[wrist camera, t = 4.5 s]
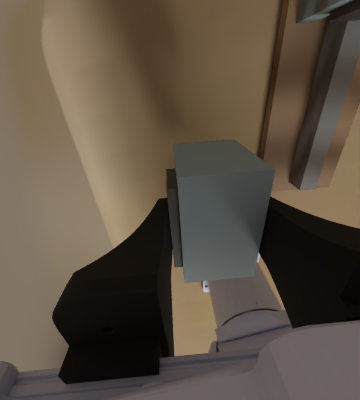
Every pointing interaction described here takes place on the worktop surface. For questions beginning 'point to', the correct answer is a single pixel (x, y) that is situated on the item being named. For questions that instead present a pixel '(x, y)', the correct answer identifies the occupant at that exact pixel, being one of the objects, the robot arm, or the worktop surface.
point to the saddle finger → (217, 209)
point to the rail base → (295, 99)
